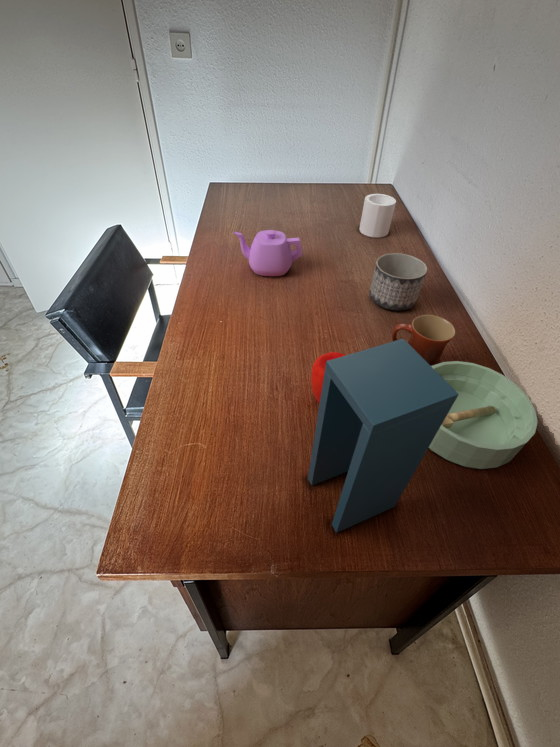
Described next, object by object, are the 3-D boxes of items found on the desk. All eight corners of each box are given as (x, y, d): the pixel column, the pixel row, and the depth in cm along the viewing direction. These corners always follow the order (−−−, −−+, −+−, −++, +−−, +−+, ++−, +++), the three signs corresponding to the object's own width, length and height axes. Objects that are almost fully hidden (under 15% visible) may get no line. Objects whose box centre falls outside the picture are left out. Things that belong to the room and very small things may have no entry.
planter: (371, 283, 106) (378, 249, 99) (416, 291, 104) (427, 257, 97) (365, 308, 98) (373, 273, 90) (414, 317, 96) (427, 282, 88)
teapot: (237, 255, 116) (235, 219, 108) (301, 257, 116) (303, 222, 108) (232, 278, 107) (230, 241, 99) (302, 280, 107) (304, 243, 99)
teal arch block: (395, 506, 60) (459, 394, 40) (336, 533, 57) (373, 425, 37) (362, 456, 67) (403, 338, 46) (307, 478, 63) (326, 361, 43)
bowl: (542, 447, 69) (564, 425, 64) (455, 488, 63) (472, 466, 58) (464, 373, 82) (477, 350, 77) (385, 401, 76) (394, 377, 71)
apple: (342, 423, 72) (351, 386, 64) (301, 407, 74) (304, 369, 66) (356, 393, 77) (366, 355, 69) (318, 378, 80) (323, 340, 72)
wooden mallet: (486, 406, 75) (490, 401, 74) (497, 417, 73) (501, 412, 72) (423, 418, 68) (428, 412, 67) (434, 431, 66) (438, 425, 65)
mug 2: (369, 218, 137) (375, 188, 129) (396, 225, 133) (403, 195, 126) (354, 232, 129) (359, 200, 121) (381, 240, 125) (389, 208, 118)
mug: (438, 353, 86) (453, 318, 79) (440, 379, 80) (457, 344, 73) (385, 344, 88) (396, 309, 81) (384, 369, 82) (395, 334, 75)
